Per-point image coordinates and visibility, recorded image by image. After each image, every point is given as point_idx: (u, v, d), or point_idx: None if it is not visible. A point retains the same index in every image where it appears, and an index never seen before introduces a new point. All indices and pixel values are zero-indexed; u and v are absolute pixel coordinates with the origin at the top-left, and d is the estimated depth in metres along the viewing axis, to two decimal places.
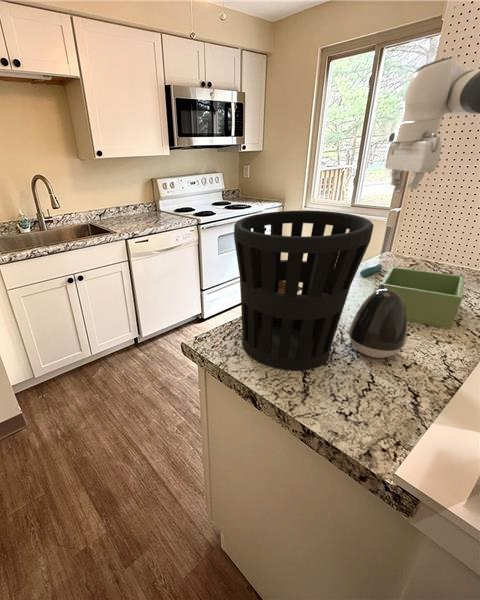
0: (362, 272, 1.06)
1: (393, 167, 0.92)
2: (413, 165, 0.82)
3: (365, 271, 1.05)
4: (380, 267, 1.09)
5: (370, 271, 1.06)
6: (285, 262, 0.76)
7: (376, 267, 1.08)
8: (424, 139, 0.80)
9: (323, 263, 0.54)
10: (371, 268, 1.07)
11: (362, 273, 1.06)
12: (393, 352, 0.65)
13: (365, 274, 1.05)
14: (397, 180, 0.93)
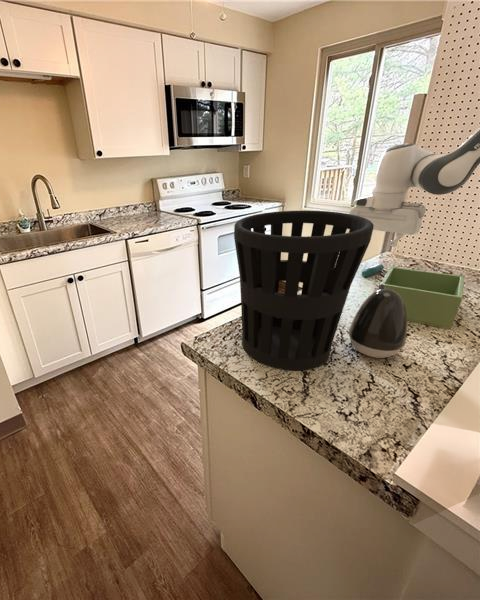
0: (364, 272, 1.05)
1: None
2: (399, 228, 0.96)
3: (367, 272, 1.05)
4: (381, 269, 1.08)
5: (372, 273, 1.06)
6: (285, 262, 0.76)
7: (378, 268, 1.07)
8: (404, 207, 0.95)
9: (323, 263, 0.54)
10: (373, 269, 1.06)
11: (364, 273, 1.05)
12: (393, 352, 0.65)
13: (366, 275, 1.05)
14: None
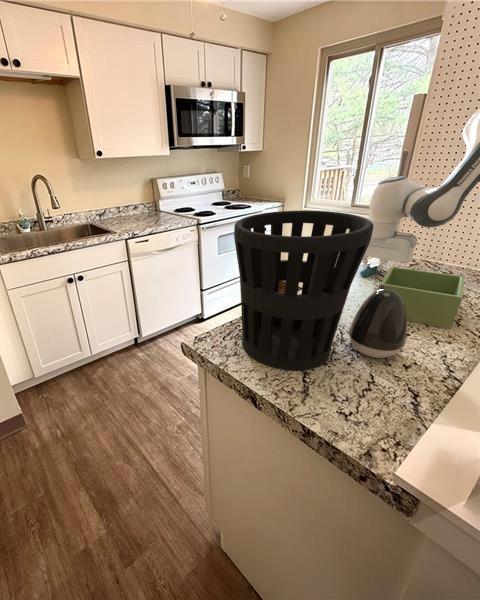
0: (363, 273, 1.05)
1: None
2: (392, 256, 1.00)
3: (366, 273, 1.05)
4: None
5: (370, 274, 1.06)
6: (285, 262, 0.76)
7: None
8: (397, 236, 0.98)
9: (323, 263, 0.54)
10: (373, 270, 1.06)
11: (363, 273, 1.06)
12: (393, 352, 0.65)
13: (364, 275, 1.06)
14: (369, 264, 1.08)
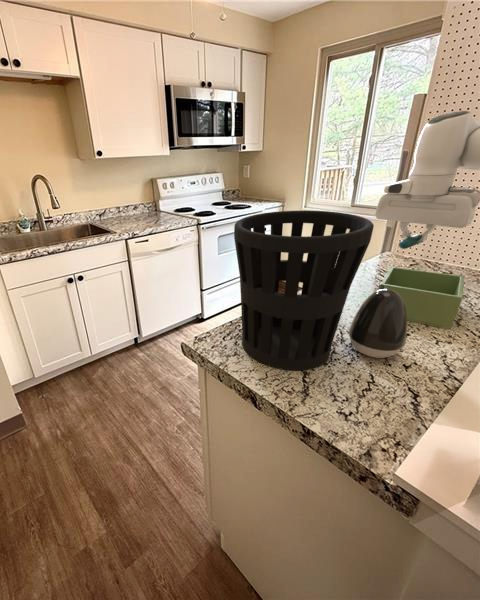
0: (403, 243, 0.82)
1: (397, 219, 0.85)
2: (445, 219, 0.77)
3: (408, 243, 0.82)
4: None
5: (412, 245, 0.83)
6: (285, 262, 0.76)
7: None
8: (451, 193, 0.75)
9: (323, 263, 0.54)
10: (415, 241, 0.83)
11: (402, 244, 0.83)
12: (393, 352, 0.65)
13: (404, 247, 0.83)
14: (410, 233, 0.85)
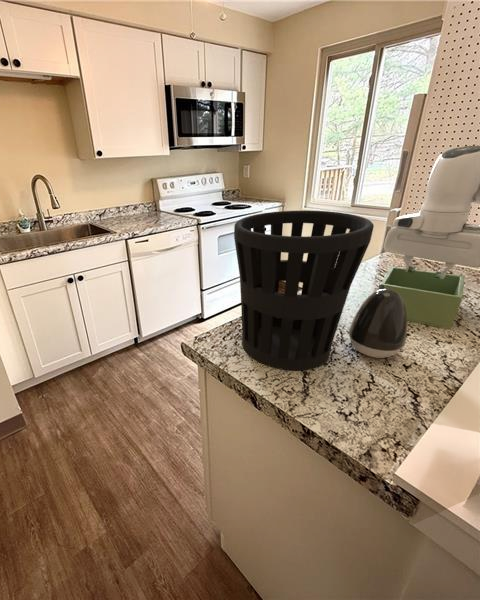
0: None
1: (407, 253, 0.81)
2: (459, 258, 0.72)
3: None
4: None
5: None
6: (285, 262, 0.76)
7: None
8: (466, 231, 0.71)
9: (323, 263, 0.54)
10: None
11: None
12: (393, 352, 0.65)
13: None
14: (414, 267, 0.82)
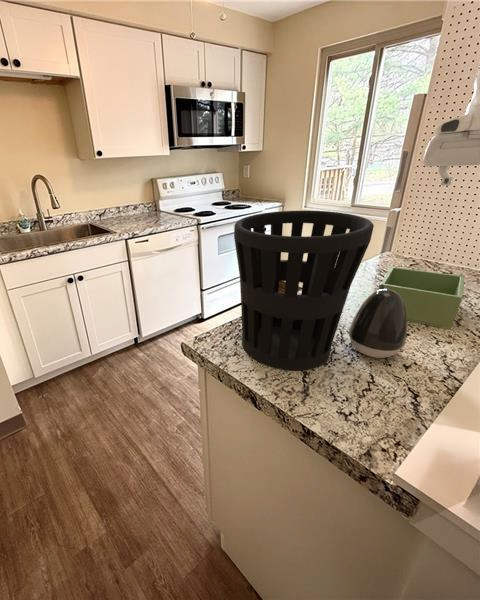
0: None
1: (451, 163, 0.74)
2: None
3: None
4: None
5: None
6: (285, 262, 0.76)
7: None
8: None
9: (323, 263, 0.54)
10: None
11: None
12: (393, 352, 0.65)
13: None
14: (450, 179, 0.76)
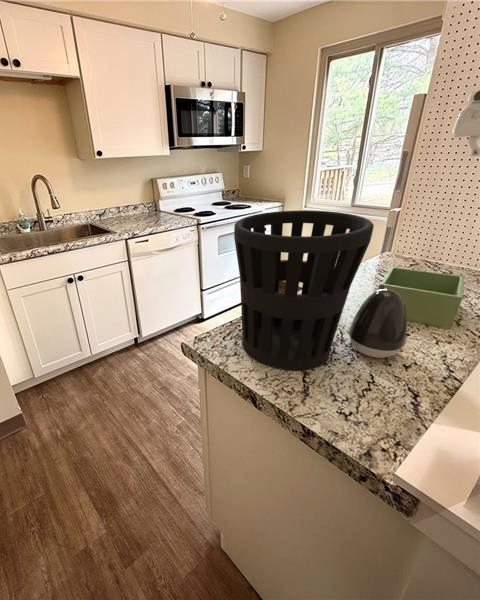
0: None
1: None
2: None
3: None
4: None
5: None
6: (285, 262, 0.76)
7: None
8: None
9: (323, 263, 0.54)
10: None
11: None
12: (393, 352, 0.65)
13: None
14: None
